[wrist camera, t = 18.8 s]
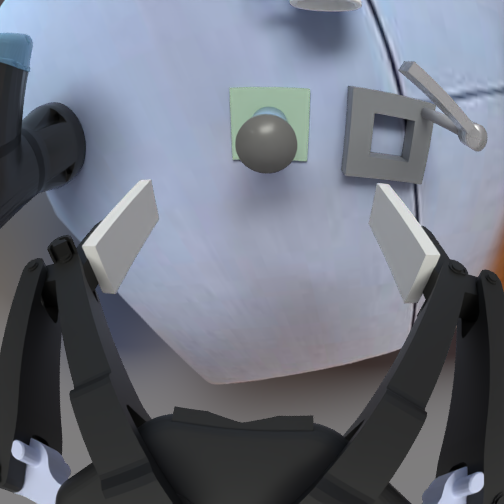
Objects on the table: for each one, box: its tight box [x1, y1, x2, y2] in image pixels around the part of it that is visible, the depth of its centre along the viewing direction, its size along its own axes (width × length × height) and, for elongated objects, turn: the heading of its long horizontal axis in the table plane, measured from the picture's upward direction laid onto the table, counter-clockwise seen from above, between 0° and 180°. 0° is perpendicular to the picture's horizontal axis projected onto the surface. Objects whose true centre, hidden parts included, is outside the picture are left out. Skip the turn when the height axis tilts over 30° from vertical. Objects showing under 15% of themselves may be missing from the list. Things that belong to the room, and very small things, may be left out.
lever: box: [398, 61, 487, 151], centre depth 17 cm, size 11×3×2 cm, turn 63°
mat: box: [230, 87, 310, 161], centre depth 33 cm, size 10×10×1 cm
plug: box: [235, 107, 297, 173], centre depth 29 cm, size 6×6×10 cm
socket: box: [341, 86, 458, 184], centre depth 27 cm, size 12×12×12 cm
